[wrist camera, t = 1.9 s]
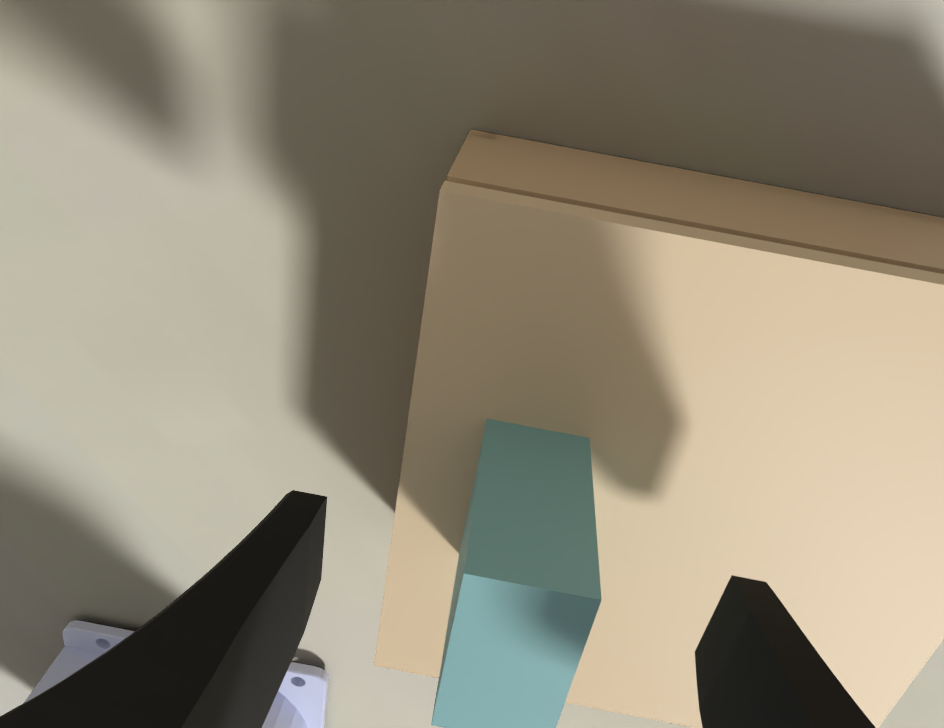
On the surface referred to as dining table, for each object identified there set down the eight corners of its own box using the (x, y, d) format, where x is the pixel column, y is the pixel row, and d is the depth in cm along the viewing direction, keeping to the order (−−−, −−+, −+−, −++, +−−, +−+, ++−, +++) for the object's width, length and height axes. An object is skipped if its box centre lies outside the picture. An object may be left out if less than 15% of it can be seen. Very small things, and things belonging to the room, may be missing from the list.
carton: (409, 528, 22) (381, 635, 18) (470, 129, 16) (447, 175, 12) (796, 602, 22) (842, 724, 18) (1005, 229, 16) (1132, 304, 12)
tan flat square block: (378, 645, 18) (329, 838, 14) (444, 180, 12) (390, 287, 8) (846, 736, 18) (929, 955, 14) (1145, 312, 12) (1440, 486, 8)
